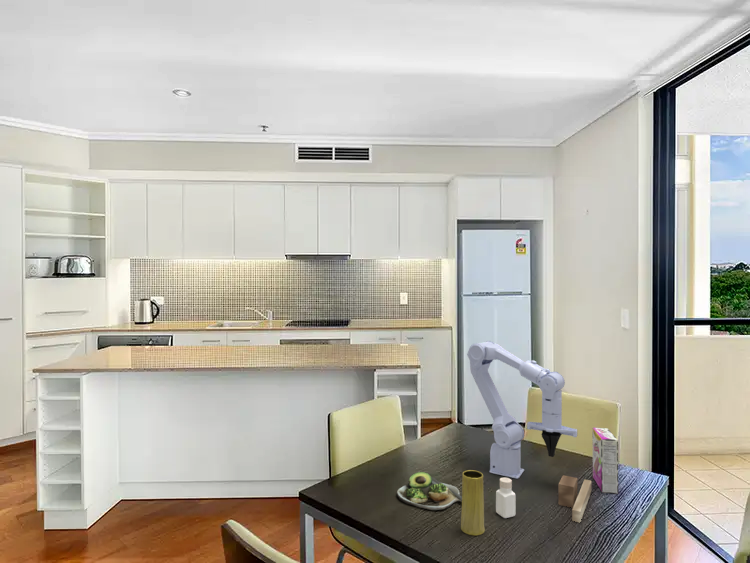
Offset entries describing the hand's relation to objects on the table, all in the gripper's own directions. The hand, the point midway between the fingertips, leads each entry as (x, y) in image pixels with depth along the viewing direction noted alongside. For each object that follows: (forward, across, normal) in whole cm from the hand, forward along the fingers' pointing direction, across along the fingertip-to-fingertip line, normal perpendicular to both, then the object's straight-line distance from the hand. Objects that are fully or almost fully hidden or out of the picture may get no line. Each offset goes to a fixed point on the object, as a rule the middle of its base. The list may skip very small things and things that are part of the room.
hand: (551, 455), depth 145 cm
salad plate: (+10, -30, -26) cm, 41 cm away
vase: (+10, -12, -37) cm, 40 cm away
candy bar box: (+10, +14, +9) cm, 19 cm away
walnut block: (+10, +6, -8) cm, 14 cm away
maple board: (+9, +10, -8) cm, 16 cm away
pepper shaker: (+10, -7, -25) cm, 28 cm away
